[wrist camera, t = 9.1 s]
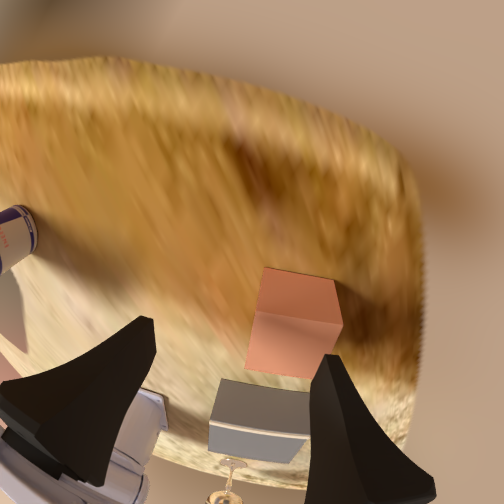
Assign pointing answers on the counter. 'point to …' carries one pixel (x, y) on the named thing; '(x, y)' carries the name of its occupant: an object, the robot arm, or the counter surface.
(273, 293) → the salmon pink cube
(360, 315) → the counter surface
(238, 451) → the block
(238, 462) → the wineglass
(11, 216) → the energy drink
